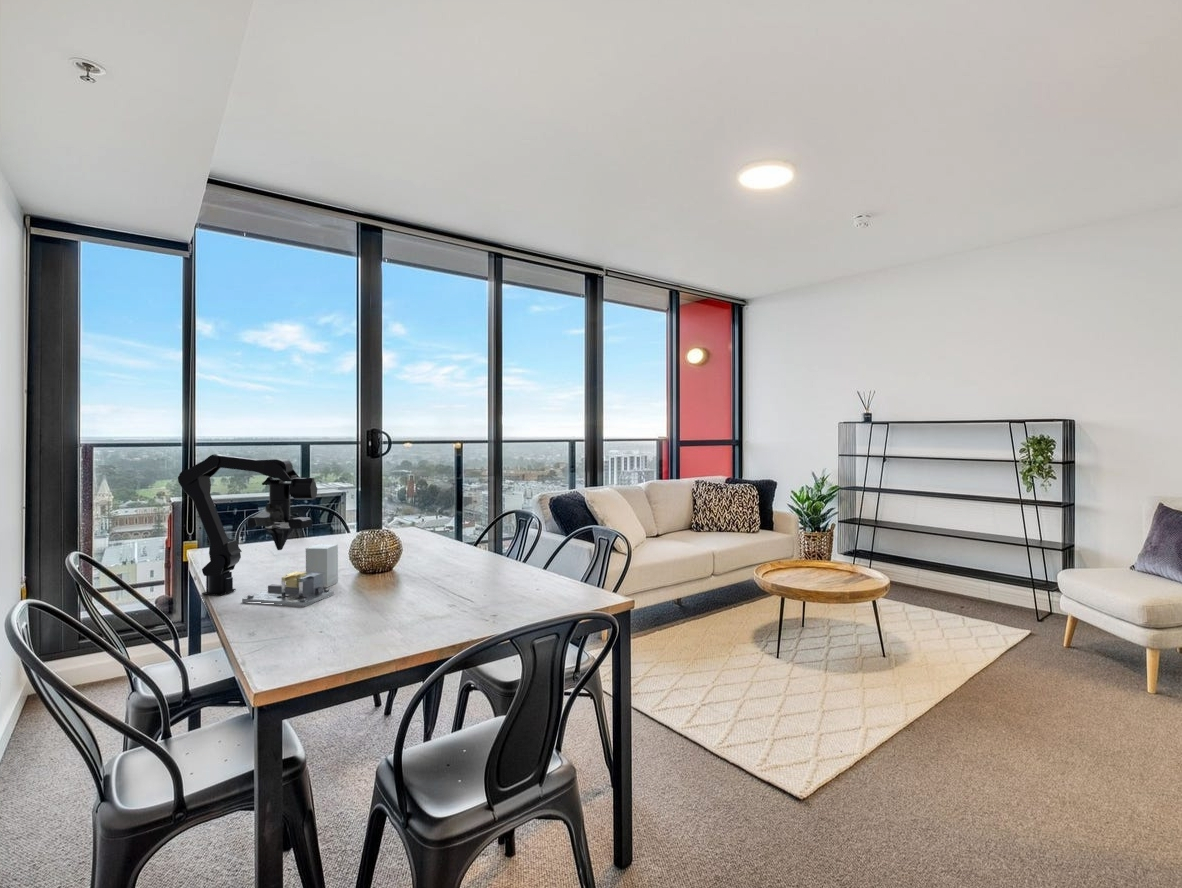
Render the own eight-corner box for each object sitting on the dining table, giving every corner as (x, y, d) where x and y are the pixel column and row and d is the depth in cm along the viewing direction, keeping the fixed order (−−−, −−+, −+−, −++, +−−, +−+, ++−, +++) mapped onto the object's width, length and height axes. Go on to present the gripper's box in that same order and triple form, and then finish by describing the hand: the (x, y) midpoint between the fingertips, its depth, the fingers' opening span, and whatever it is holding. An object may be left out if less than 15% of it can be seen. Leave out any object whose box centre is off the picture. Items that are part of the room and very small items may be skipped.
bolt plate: (242, 602, 174) (242, 578, 174) (276, 590, 188) (276, 568, 188) (304, 607, 171) (304, 582, 171) (334, 594, 184) (334, 571, 184)
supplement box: (338, 582, 200) (338, 544, 200) (326, 588, 192) (326, 548, 192) (317, 581, 200) (317, 543, 200) (304, 587, 193) (304, 547, 193)
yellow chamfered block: (276, 595, 176) (276, 577, 176) (295, 588, 184) (295, 571, 184) (287, 596, 176) (287, 578, 176) (306, 589, 184) (306, 572, 184)
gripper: (233, 501, 180) (233, 553, 180) (289, 503, 177) (288, 556, 177) (260, 497, 191) (260, 547, 191) (313, 499, 188) (313, 549, 188)
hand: (279, 549), depth 187 cm, fingers closed
